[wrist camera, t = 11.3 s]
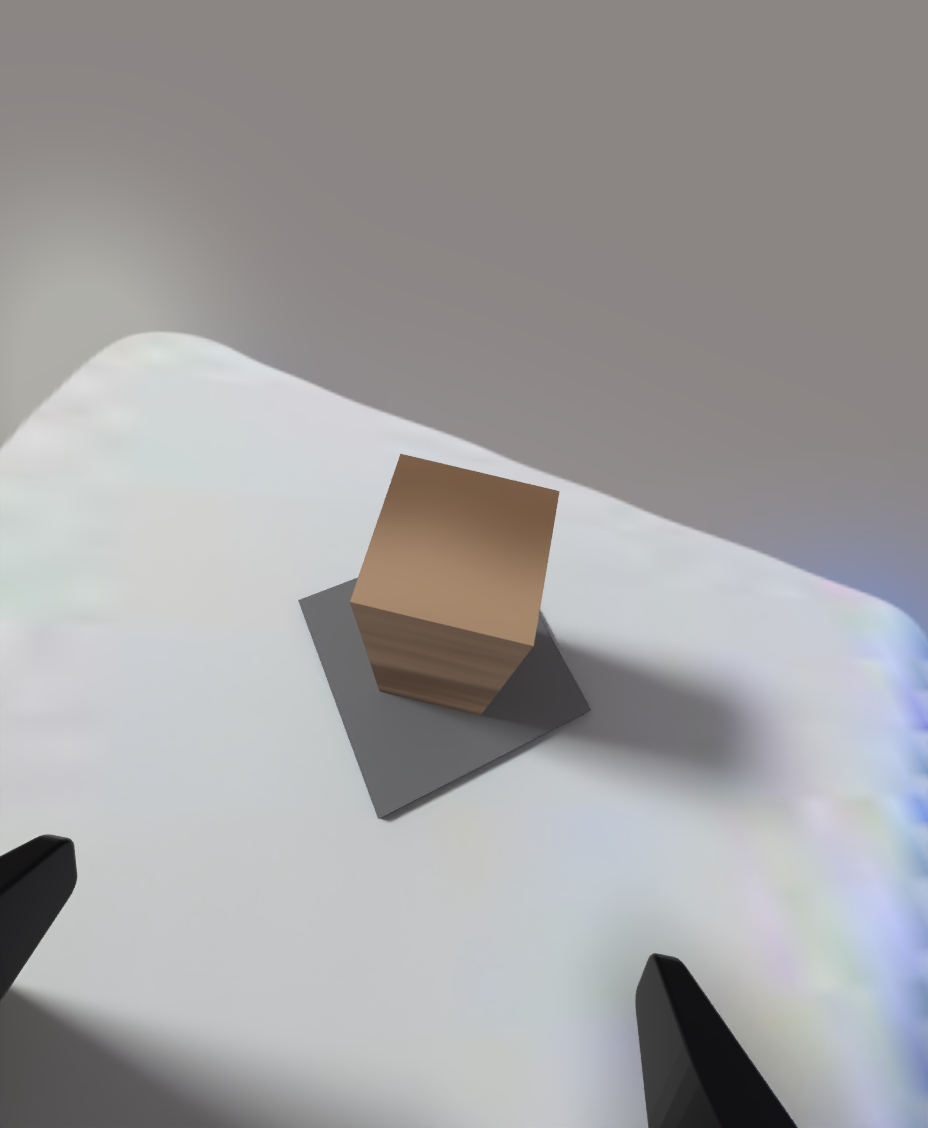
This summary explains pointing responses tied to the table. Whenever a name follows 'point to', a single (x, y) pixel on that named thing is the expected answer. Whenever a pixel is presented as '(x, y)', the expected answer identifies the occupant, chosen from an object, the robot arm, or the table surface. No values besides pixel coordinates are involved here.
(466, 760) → the mat
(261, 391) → the table surface
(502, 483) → the walnut block
